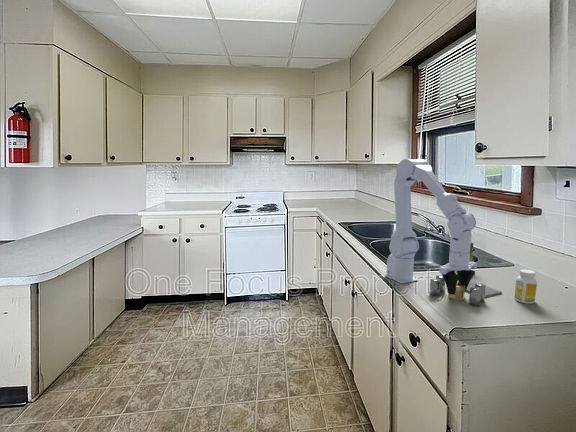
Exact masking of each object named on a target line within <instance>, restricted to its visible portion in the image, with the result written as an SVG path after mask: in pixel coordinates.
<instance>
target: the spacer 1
mask: <svg viewBox="0 0 576 432" xmlns="http://www.w3.org/2000/svg"><path fill="white" fill-rule="evenodd" d="M440 293H441V292H440V280H439V279H436V278H430V281H429V296H431V297H436V298H437V297H440Z"/></svg>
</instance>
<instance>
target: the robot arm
mask: <svg viewBox="0 0 576 432" xmlns="http://www.w3.org/2000/svg"><path fill="white" fill-rule="evenodd" d="M395 169H396V175H395V178H394V183H393V184H394V187H393V188H394V208H395V211H394V212H395V231H394V232H393V233H392V234H391V235H390V242H389V247H388V249H389V251H390V254H389V255H388V257H387V258H386V274H384V277H386V278H388V279H390V280H392V281H395V282H398V283H400V284H408V283H412V282H417V281H419V278H417V277H414V265H415V263H414V262H415V256H416V253H418V251H419V249H420V244H419V241H418V239H417V233H416V232H415V231H414V230H413V225H412V224H413V223H412V222H413V221H412V197H411V194H412V193H411V187H412V186H413V185H414V184H415V183H416V181H418V182H421V183H423V184H424V185H425V186H426V188H427V189H428V190H429V191H430V193H431V194H432V196H434V197H435V198H436V206H437V207H438V209H439V210H440V212H441V213H442V214H443V216H444V217H445V218H446V220H447V227H448V229H449V231H450V244H449V254H448V255H449V256H448V257H449V258H448V259H449V260H448V263H446V264H444V265H442V266H439V271H438V272H439V274H440V275H442V276H443V277H444V280H445V287H446V290H447V291H446V292H447V294H448V293H449V294H452V295H454V294H455V291H456V285H457V282H460V283H463V284H466V285H465V293H467V292H466V290H467V287H468V284H469V282H470V281H471V280H472V279H473V278H474V276H475V275H476V271H475V269H477V267H478V262H475V261H473V262H472V261H471V262H469V257H470V245H471V242H472V241H471V240H472V230H473V229H475V227H476V225H477V220H476V218H475V217H476V216H474V214H473V213H471V212H468V211H467V210H466V208H463V206H462V204H461V203H460V202H459V201H458V199H459V198H458V197H457V196H456V195H454V194H453V193H447V192H446V190H445V188H444V187H443V186H442V184H441V183H440V181H439V180H438V178H437V176H436V175H435V173H434V172H433V166H431V165H430V163H429V162H428V161H427V160H426V159H424V158H420V159H419V158H418V159H414V158H413V159H411V158H410V159H409V158H404V159H402V160H400V162H399V163H397V164H396V168H395ZM472 269H473V270H472Z"/></svg>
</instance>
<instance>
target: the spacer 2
mask: <svg viewBox="0 0 576 432" xmlns="http://www.w3.org/2000/svg"><path fill="white" fill-rule="evenodd" d="M435 279H439V280H440V293H445V292H446V282H445V280H444V277H443V276H442V274H439V275H435Z"/></svg>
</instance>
